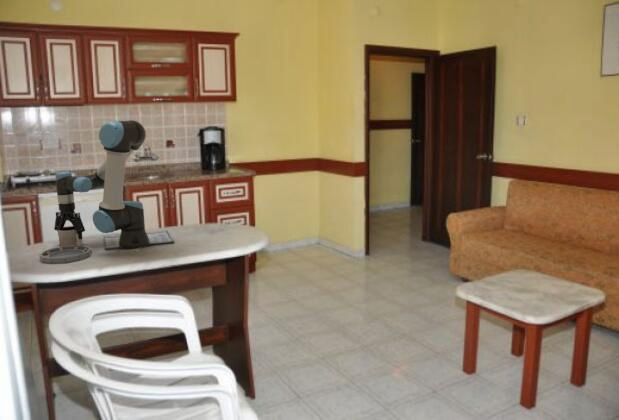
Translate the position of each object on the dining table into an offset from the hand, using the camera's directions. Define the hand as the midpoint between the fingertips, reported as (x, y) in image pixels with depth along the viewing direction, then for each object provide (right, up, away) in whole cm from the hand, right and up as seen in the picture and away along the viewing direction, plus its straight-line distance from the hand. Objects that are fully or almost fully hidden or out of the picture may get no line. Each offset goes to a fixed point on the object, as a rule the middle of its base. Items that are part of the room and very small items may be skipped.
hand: (71, 244), depth 268 cm
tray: (+6, -5, -19) cm, 21 cm away
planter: (0, -1, 0) cm, 1 cm away
